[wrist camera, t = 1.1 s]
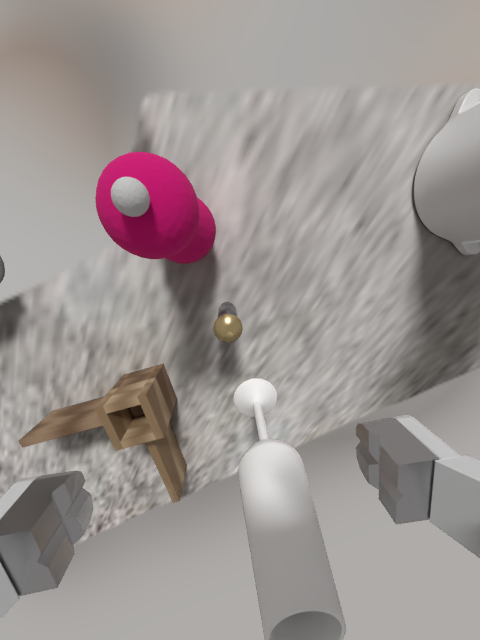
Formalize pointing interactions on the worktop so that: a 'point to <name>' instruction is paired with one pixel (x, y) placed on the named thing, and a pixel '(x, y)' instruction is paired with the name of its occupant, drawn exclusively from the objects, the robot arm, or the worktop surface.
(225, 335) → the hinge pin
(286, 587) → the champagne flute
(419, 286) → the worktop surface
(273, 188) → the worktop surface
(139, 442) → the hinge
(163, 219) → the pepper mill
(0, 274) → the cupcake
